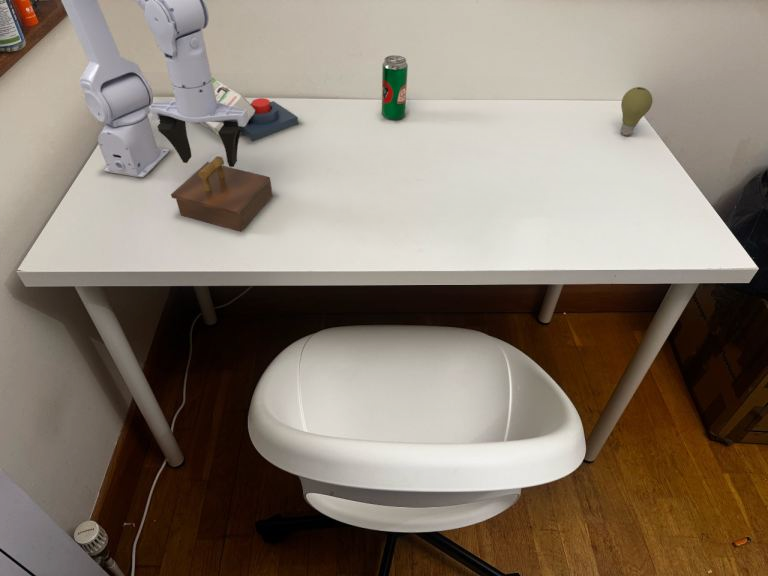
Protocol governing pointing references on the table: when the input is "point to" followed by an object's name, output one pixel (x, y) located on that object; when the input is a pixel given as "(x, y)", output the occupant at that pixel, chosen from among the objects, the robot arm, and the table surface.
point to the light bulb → (634, 108)
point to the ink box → (227, 103)
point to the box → (269, 122)
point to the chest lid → (221, 187)
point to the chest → (227, 218)
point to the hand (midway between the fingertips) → (210, 161)
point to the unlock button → (261, 105)
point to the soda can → (394, 87)
